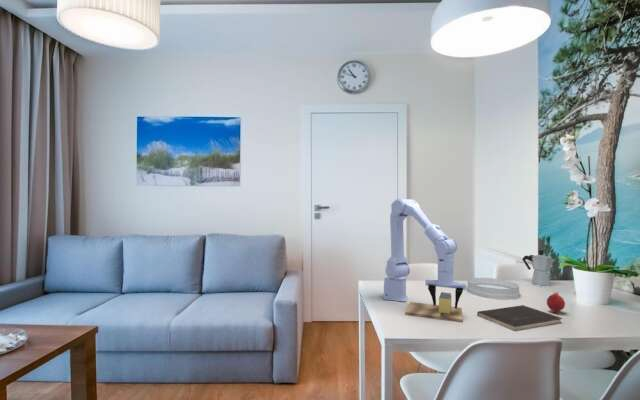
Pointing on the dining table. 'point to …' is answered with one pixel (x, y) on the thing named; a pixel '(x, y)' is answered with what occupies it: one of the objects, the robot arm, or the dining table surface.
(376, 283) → the dining table surface
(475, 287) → the dish
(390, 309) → the dining table surface
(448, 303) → the block
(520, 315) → the hardcover book
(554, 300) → the onion
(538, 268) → the coffee maker
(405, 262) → the robot arm
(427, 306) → the board
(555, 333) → the dining table surface
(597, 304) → the dining table surface
